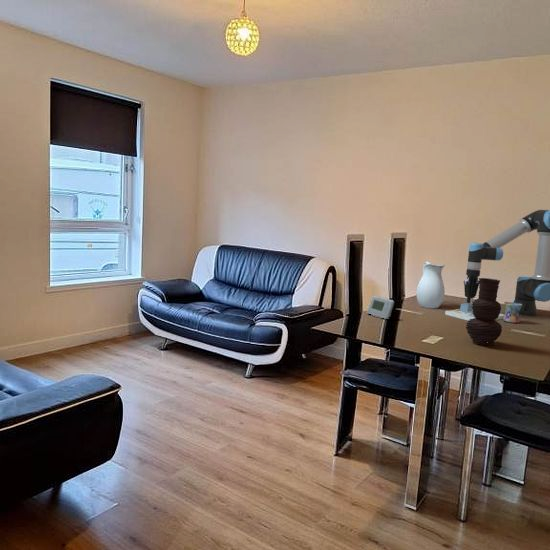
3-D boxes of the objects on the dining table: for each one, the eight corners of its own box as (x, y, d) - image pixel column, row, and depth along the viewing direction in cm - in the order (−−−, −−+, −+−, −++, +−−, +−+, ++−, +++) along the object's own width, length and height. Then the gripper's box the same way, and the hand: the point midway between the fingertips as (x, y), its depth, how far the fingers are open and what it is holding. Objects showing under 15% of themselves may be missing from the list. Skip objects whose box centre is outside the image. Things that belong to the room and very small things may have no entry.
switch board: (476, 311, 306) (477, 306, 305) (506, 318, 289) (507, 313, 289) (445, 314, 289) (445, 309, 289) (474, 322, 273) (475, 317, 272)
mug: (517, 324, 273) (520, 306, 272) (500, 321, 279) (502, 303, 278) (522, 321, 283) (524, 303, 281) (505, 318, 288) (507, 300, 287)
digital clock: (365, 313, 277) (366, 295, 276) (378, 313, 281) (380, 295, 279) (381, 320, 262) (383, 301, 261) (395, 320, 266) (397, 300, 264)
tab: (464, 310, 295) (465, 302, 294) (471, 311, 291) (472, 303, 290) (460, 310, 293) (461, 302, 292) (467, 312, 288) (468, 304, 288)
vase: (482, 349, 217) (490, 282, 213) (456, 339, 231) (464, 276, 227) (507, 347, 223) (516, 282, 219) (481, 338, 237) (488, 276, 233)
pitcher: (446, 310, 303) (451, 265, 299) (419, 308, 303) (423, 263, 299) (434, 302, 326) (439, 261, 323) (409, 301, 327) (413, 259, 323)
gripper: (474, 268, 296) (470, 306, 299) (461, 268, 289) (456, 307, 293) (486, 269, 290) (481, 309, 293) (472, 270, 283) (467, 310, 286)
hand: (468, 308), depth 293 cm, fingers closed
